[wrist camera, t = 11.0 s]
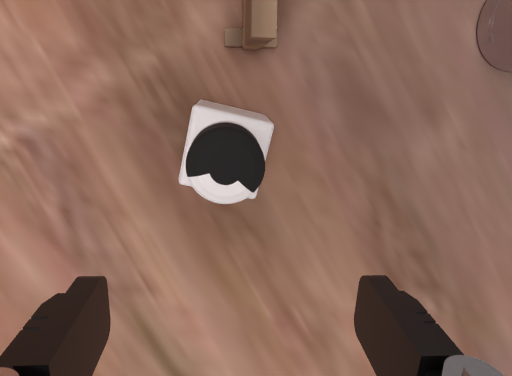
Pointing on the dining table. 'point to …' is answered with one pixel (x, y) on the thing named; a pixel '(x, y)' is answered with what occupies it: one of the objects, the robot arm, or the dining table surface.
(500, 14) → the robot arm
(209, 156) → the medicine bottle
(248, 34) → the screen
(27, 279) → the dining table surface
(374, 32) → the dining table surface
